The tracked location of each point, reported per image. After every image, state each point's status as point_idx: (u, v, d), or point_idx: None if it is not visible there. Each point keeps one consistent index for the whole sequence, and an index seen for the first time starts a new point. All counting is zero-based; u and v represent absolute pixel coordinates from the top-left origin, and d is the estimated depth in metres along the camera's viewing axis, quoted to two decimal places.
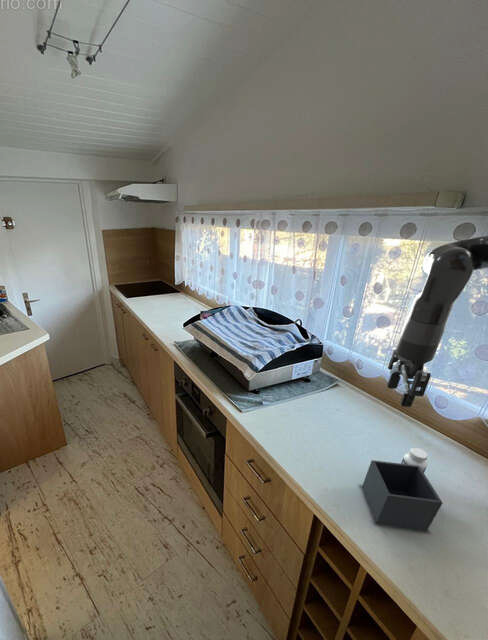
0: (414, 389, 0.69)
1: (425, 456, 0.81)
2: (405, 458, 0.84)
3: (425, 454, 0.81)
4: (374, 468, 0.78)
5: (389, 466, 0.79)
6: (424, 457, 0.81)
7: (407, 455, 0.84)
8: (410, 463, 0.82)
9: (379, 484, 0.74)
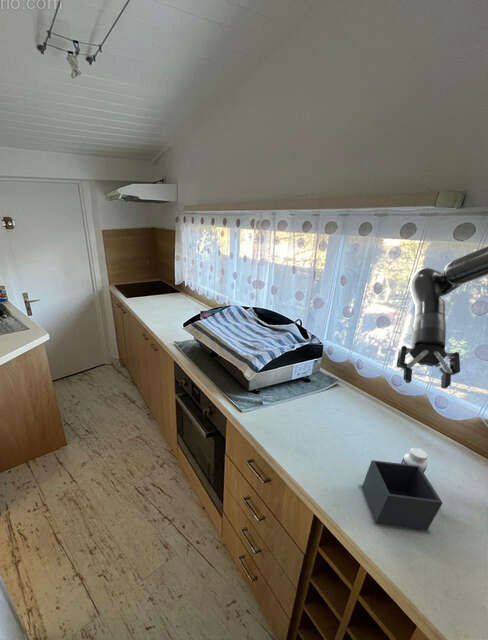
0: (397, 361, 0.89)
1: (425, 456, 0.81)
2: (405, 458, 0.84)
3: (425, 454, 0.81)
4: (374, 468, 0.78)
5: (389, 466, 0.79)
6: (424, 457, 0.81)
7: (407, 455, 0.84)
8: (410, 463, 0.82)
9: (379, 484, 0.74)
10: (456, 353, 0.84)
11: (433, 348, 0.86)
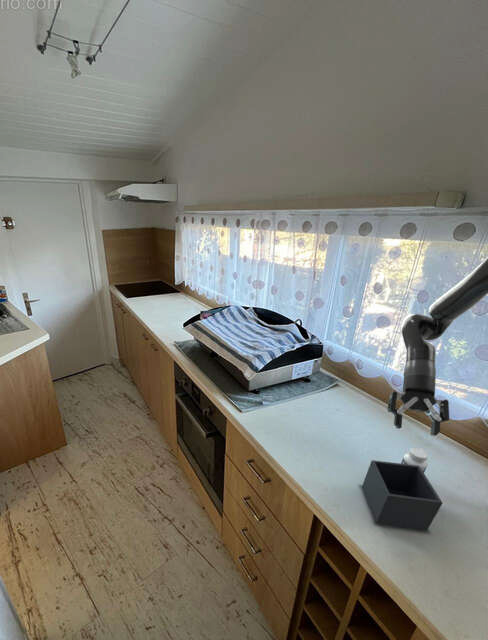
0: (388, 405, 0.91)
1: (425, 456, 0.81)
2: (405, 458, 0.84)
3: (425, 454, 0.81)
4: (374, 468, 0.78)
5: (389, 466, 0.79)
6: (424, 457, 0.81)
7: (407, 455, 0.84)
8: (410, 463, 0.82)
9: (379, 484, 0.74)
10: (445, 401, 0.86)
11: (423, 395, 0.88)
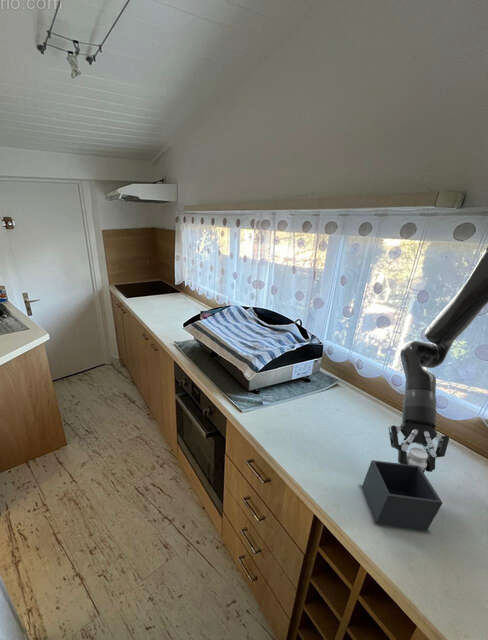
0: (390, 440, 0.87)
1: (425, 456, 0.81)
2: None
3: (425, 454, 0.81)
4: (374, 468, 0.78)
5: (389, 466, 0.79)
6: (424, 457, 0.81)
7: (407, 455, 0.84)
8: (410, 463, 0.82)
9: (379, 484, 0.74)
10: (446, 437, 0.82)
11: (423, 427, 0.84)
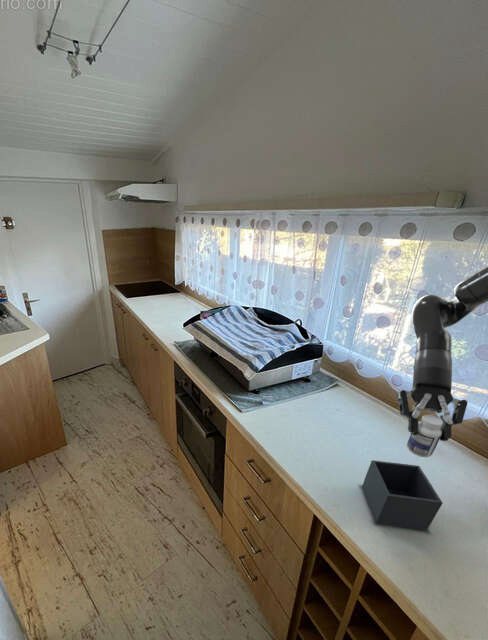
0: (399, 407, 0.77)
1: (440, 422, 0.71)
2: None
3: (439, 421, 0.71)
4: (374, 468, 0.78)
5: (389, 466, 0.79)
6: (438, 424, 0.70)
7: (419, 423, 0.74)
8: (423, 431, 0.72)
9: (379, 484, 0.74)
10: (464, 401, 0.72)
11: (437, 391, 0.74)
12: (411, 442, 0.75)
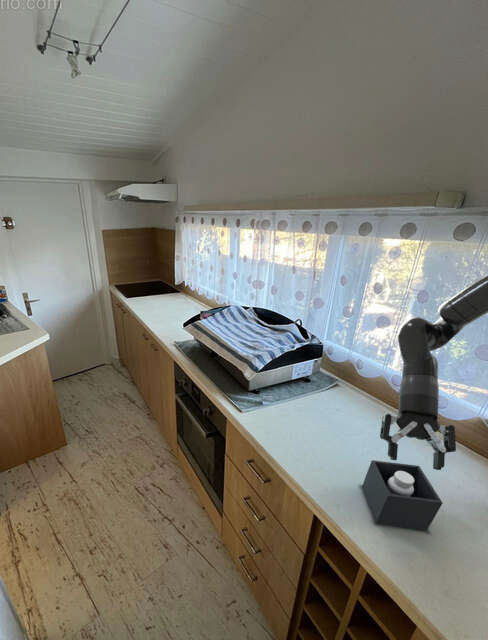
0: None
1: (411, 481, 0.72)
2: (389, 482, 0.75)
3: (411, 479, 0.73)
4: (374, 468, 0.78)
5: (389, 466, 0.79)
6: (410, 482, 0.72)
7: (392, 479, 0.76)
8: (395, 488, 0.74)
9: (379, 484, 0.74)
10: (451, 427, 0.69)
11: (424, 419, 0.71)
12: None
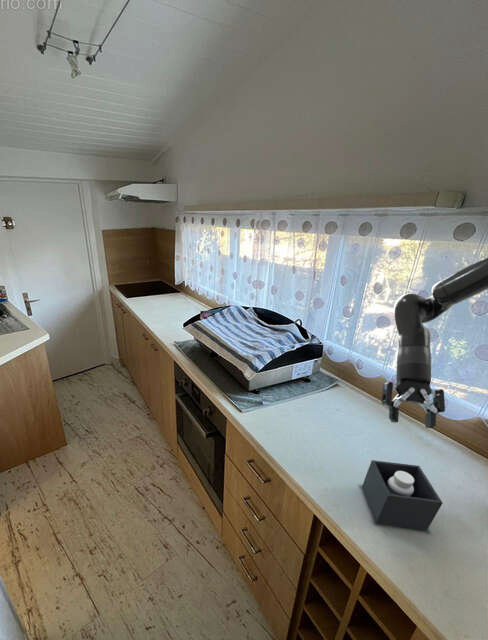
0: (382, 397, 0.83)
1: (411, 481, 0.72)
2: (389, 482, 0.75)
3: (411, 479, 0.73)
4: (374, 468, 0.78)
5: (389, 466, 0.79)
6: (410, 482, 0.72)
7: (392, 479, 0.76)
8: (395, 488, 0.74)
9: (379, 484, 0.74)
10: (441, 390, 0.79)
11: (419, 385, 0.80)
12: None
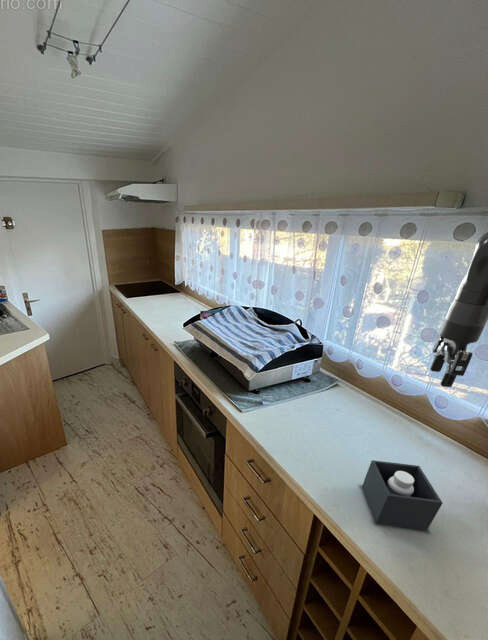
0: (454, 368, 0.72)
1: (411, 481, 0.72)
2: (389, 482, 0.75)
3: (411, 479, 0.73)
4: (374, 468, 0.78)
5: (389, 466, 0.79)
6: (410, 482, 0.72)
7: (392, 479, 0.76)
8: (395, 488, 0.74)
9: (379, 484, 0.74)
10: None
11: None
12: None
